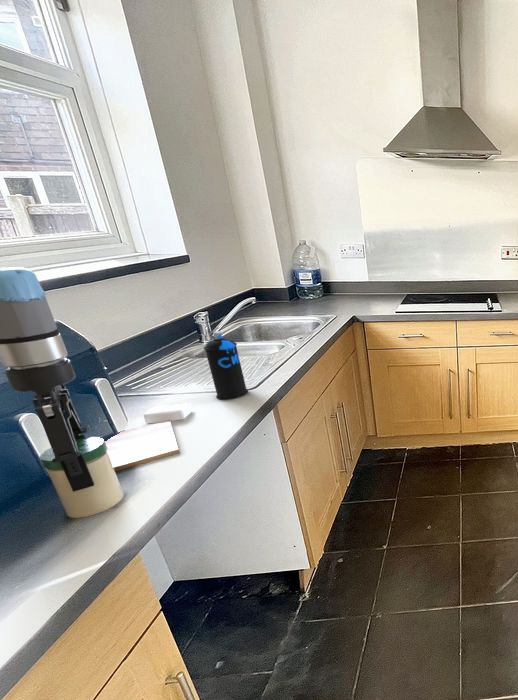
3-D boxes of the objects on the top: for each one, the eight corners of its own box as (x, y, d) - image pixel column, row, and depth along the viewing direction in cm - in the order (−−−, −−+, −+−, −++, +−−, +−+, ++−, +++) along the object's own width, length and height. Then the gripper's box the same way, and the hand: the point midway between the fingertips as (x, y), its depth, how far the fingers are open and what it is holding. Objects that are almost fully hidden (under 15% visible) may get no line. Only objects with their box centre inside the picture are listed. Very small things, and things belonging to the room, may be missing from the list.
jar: (68, 502, 80) (44, 450, 76) (123, 485, 85) (104, 435, 81) (65, 524, 74) (39, 469, 70) (124, 504, 79) (103, 452, 75)
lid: (37, 475, 70) (33, 466, 70) (51, 453, 77) (47, 445, 76) (102, 459, 75) (99, 451, 74) (110, 440, 81) (107, 432, 81)
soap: (192, 411, 117) (190, 401, 116) (184, 420, 112) (181, 410, 111) (154, 415, 114) (151, 405, 113) (145, 424, 110) (141, 414, 109)
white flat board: (99, 441, 102) (98, 437, 101) (171, 423, 111) (170, 419, 110) (97, 476, 88) (96, 472, 87) (179, 452, 97) (178, 448, 96)
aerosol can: (209, 398, 125) (192, 334, 119) (233, 388, 133) (217, 327, 126) (232, 401, 124) (215, 336, 117) (254, 390, 131) (240, 329, 124)
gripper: (13, 352, 74) (61, 461, 82) (-10, 386, 60) (50, 514, 68) (72, 344, 79) (112, 447, 87) (63, 373, 65) (112, 494, 72)
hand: (84, 476), depth 77 cm, fingers closed on lid, 8 cm apart
